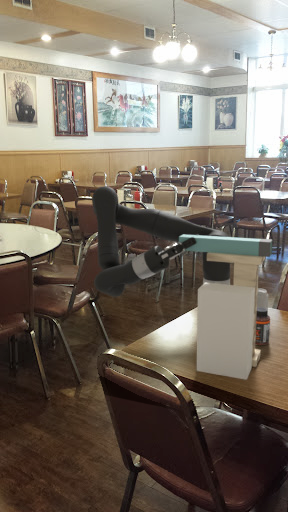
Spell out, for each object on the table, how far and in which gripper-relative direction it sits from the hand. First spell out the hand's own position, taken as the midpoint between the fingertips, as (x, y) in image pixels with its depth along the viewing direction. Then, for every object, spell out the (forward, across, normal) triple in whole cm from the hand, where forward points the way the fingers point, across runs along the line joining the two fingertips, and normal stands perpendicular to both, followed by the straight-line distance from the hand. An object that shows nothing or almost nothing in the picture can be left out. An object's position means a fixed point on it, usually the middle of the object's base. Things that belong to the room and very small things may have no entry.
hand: (197, 238), depth 136 cm
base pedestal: (-8, -9, +36) cm, 38 cm away
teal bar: (+5, 0, +7) cm, 9 cm away
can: (-6, +32, +37) cm, 50 cm away
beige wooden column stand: (-8, 0, +36) cm, 37 cm away
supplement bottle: (-3, +14, +39) cm, 42 cm away
